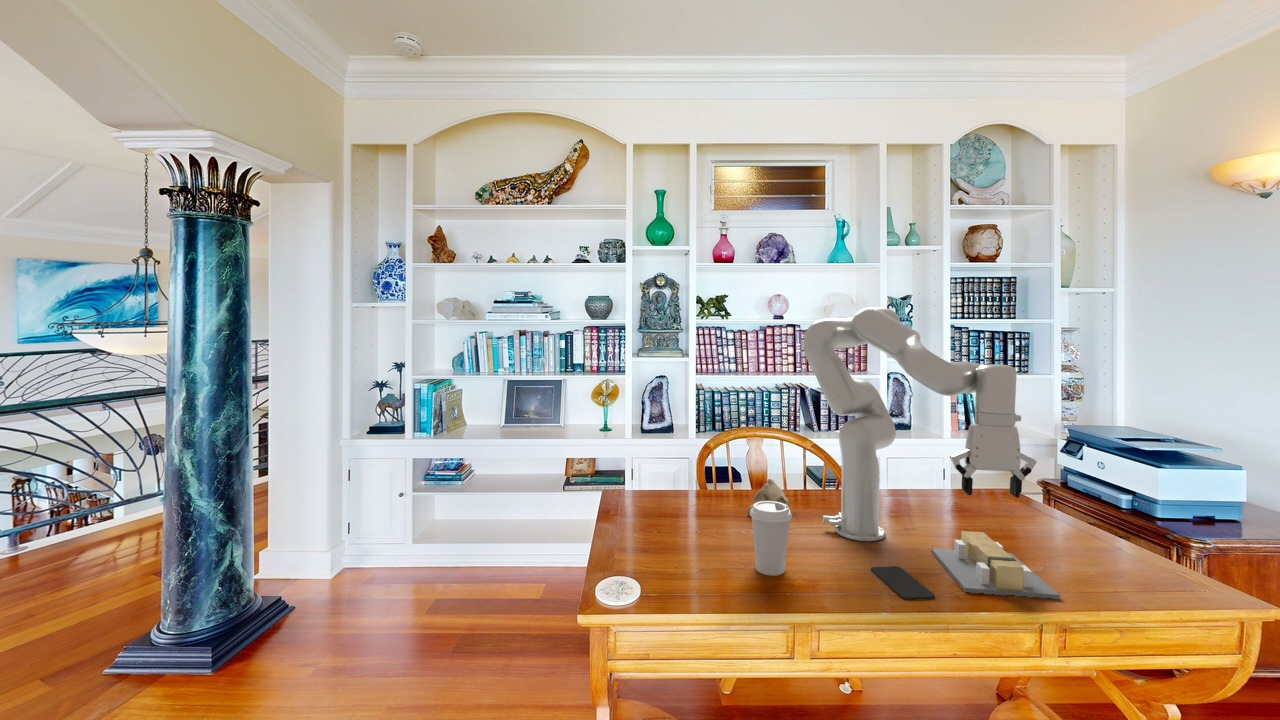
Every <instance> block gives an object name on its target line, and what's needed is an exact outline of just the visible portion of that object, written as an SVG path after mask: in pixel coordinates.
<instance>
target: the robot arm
mask: <svg viewBox="0 0 1280 720" xmlns="http://www.w3.org/2000/svg"><path fill="white" fill-rule="evenodd" d="M802 341H803V342H802V346H803V352H804V356H805V358H806V360H807V362H808V364H809V365H810V368H811V369H812V372H813V373H814V376H815V377H816V379H817V382H818V384H819V386H820V389H821V392H822V393H823V396H824V397H825V400H826V401H827V404H828V406H829V408H830V410H831V411H832V412H833V413H834V414H835V415H837V416H843V417H845V416H851V415H852V416H854V418H852V419H848V420H847V421H846V422H844V424H843V425H842V426H841V428H840V430H839V433H838V442H839V448H840V457H841V492H840V493H841V498H840V499H841V501H840V502H841V503H840V507H841V508H840V511H839V512H838V514H836V515H833V516H830V515H823V516H822V522H823V523H826V524H828V525H829V526H834V531H835V533H836V534H838V535H839V536H841V537H843V538H845V539H850V540H854V541H860V542H876V541H880V540H882V539H884V537H885V529H883V528H882V527H880V526H879V523H880V522H879V518H880V517H879V514H880V480H881V479H880V478H881V477H880V463H879V460H878V456H877V451H878V450H881V449H885V448H888V447H889V446H890V445H892V444H893V442H894V441H895V439H896V434H897V432H896V426H895V423H894V421H893V419H892V417H891V415H890V413H889V411H888V409H887V407H886V404H885V403H884V400H883V399H882V396H881V394H880V393H879V392H878V389H877V388H876V387H875V386H874V385H873V384H872V383H870V382H869V381H868V380H865V379H853V377H852V376H851V373H850V372H849V370H848V367H847V366H846V364H845V362H844V361H843V360H842V358H841V357H840V356H839V354H837V352H836V351H835V349H848V348H849V349H850V348H855V347H858V346H864V345H866V344H867V345H868V344H870V345H871V346H872V347H875V348H876V349H878V350H879V351H881V352H883V353H884V354H886V355H887V356H889V357H891V358H892V359H893V360H895V361H896V362H897V363H898V365H899V366H900V368H902V369H903V370H904V371H905V373H906V374H907V375H908V376H910V377H911V378H912V379H913V380H915V381H917V382H919V383H920V384H921V385H923V386H925V387H926V388H928V389H930V390H931V391H933V392H934V393H937V394H939V395H942V396H947V397H953V396H954V397H955V396H958V395H963V394H964V395H965V394H971V393H974V394H975V401H974V402H975V403H974V404H975V406H974V423H970V425H969V427H968V431H967V433H966V435H967V436H966V440H965V447H964V450H961V451H959V452H956V453H954V454H952V455H950V456H949V459H950V461H951V463H952V465H953V467H954V468H955V470H956V471H958V472H959V473H960V475H961V489H962V490H963V493H965V494H966V495H968V496H972V495H973V485H974V484H973V483H974V481H973V480H974V479H973V477H971V476H973V474H974V473H975V472H976V471H988V472H989V471H990V472H994V471H995V472H1010V473H1011V474H1012V475H1011V476H1010V478H1009V479H1010V480H1009V494H1010V495H1011V496H1013V497H1015V498H1018V499H1019V498H1020V495H1021V493H1023V492H1022V489H1023V481H1024V480H1025V479H1026V477H1027V476H1028V475H1029V474H1031V473H1032V470H1033V469H1034V467H1035V466H1036V464H1037V460H1035V459H1034V458H1031V457H1030V456H1028V455H1026V454H1024V453H1022V452H1021V443H1020V436H1019V430H1018V427H1017V426H1016V422H1021V421H1022V416H1021V415H1017V413H1015V412H1016V393H1017V392H1016V391H1017V369H1016V368H1015V367H1013V366H1012V365H1007V364H997V363H995V364H994V363H993V364H990V363H989V364H981V363H976V362H971V361H955V362H954V361H953V362H949V361H947V360H945V359H944V358H941V357H940V356H938V355H937V354H935V353H934V352H932V351H930V350H929V349H927V348H926V347H925V346H924V345H923V344H922V342H921V335H920V333H919V332H918V331H916V330H915V329H913V328H911V327H909V326H907V325H906V324H904V323H902V322H901V318H900V317H899V316H898V314H897V313H896V312H895V311H893V310H892V309H890V308H886V307H864V308H862V309H860V310H859V311H857V312H856V313H855V314H854V315H853V317H847V318H839V317H838V318H837V317H836V318H834V317H830V318H829V317H828V318H823V319H819V320H815V322H813V323H811V324H810V326H808V327H807V329H806V331H805V334H804V337H803V340H802ZM961 460H963V461H964V463H965V465H961V463H960V461H961ZM1021 460H1022V461H1024V462H1025V463H1024V465H1023V466H1022V467H1021ZM1020 467H1021V468H1020Z"/></svg>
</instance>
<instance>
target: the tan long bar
mask: <svg viewBox="0 0 1280 720" xmlns="http://www.w3.org/2000/svg"><path fill="white" fill-rule="evenodd" d="M960 533H961V535H960V536H961V537H960V540H961V541H962V542H963V543H964V544H965V545H966V554H965V556H966V557H967V558H968V559H969V560H970V561H971V562H972V563H973V564H974V566H975V567H976V562H980V563H985V564H986V565H987V566H988V567H989V568H990V577H989V582H990V583H991V584H992V585H993V586H994V587H995V588H996V589H1003V590H1016V591H1023V573H1024V568H1023V567H1022V566H1021V565H1020V564H1019V563H1018V562H1017V561H1016V560H1015V559H1014V558H1012V557H1011V556H1010V555H1009V554H1008V553H1009V552H1007V551H1005V550H1004V548H1003V549H1002V548H1001V547H1000V546H999V545H998V544H996V543H995V542H996V541H994V540H993V539H992V538H991V537H989V536H988V534H986V533H985V532H984V531H983V532H982V531H965V530H961V532H960Z"/></svg>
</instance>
